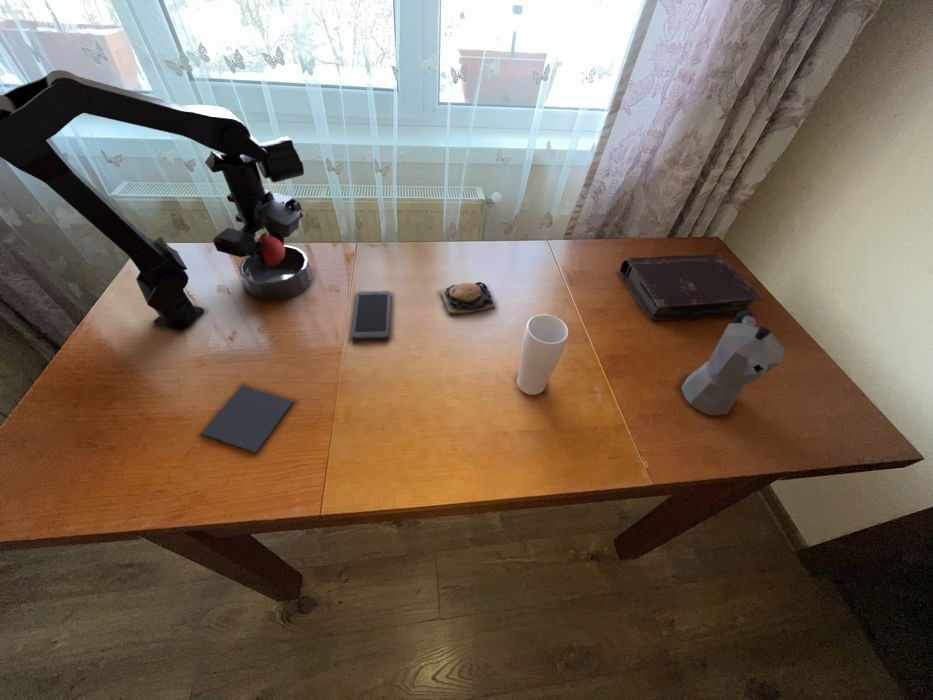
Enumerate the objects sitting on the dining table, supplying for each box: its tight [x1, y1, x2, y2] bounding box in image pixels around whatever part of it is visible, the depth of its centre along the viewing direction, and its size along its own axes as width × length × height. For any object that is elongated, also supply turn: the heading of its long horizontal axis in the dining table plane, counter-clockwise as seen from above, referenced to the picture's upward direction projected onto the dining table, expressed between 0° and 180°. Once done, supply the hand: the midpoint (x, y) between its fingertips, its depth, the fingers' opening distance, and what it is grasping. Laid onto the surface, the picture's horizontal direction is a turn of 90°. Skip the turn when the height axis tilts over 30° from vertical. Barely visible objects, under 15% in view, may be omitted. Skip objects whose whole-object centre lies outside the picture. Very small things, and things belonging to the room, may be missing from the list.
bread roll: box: [440, 281, 495, 315], centre depth 87 cm, size 11×8×4 cm
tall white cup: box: [516, 313, 569, 396], centre depth 69 cm, size 7×7×15 cm
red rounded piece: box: [257, 230, 285, 266], centre depth 83 cm, size 6×6×8 cm
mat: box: [200, 384, 294, 454], centre depth 66 cm, size 10×10×1 cm
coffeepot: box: [680, 309, 786, 417], centre depth 69 cm, size 15×9×18 cm, turn 162°
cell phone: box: [351, 290, 392, 341], centre depth 83 cm, size 7×14×1 cm, turn 6°
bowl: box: [238, 244, 313, 302], centre depth 87 cm, size 14×14×4 cm
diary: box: [618, 253, 764, 321], centre depth 93 cm, size 19×25×5 cm
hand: (272, 258), depth 85 cm, fingers closed on red rounded piece, 6 cm apart
